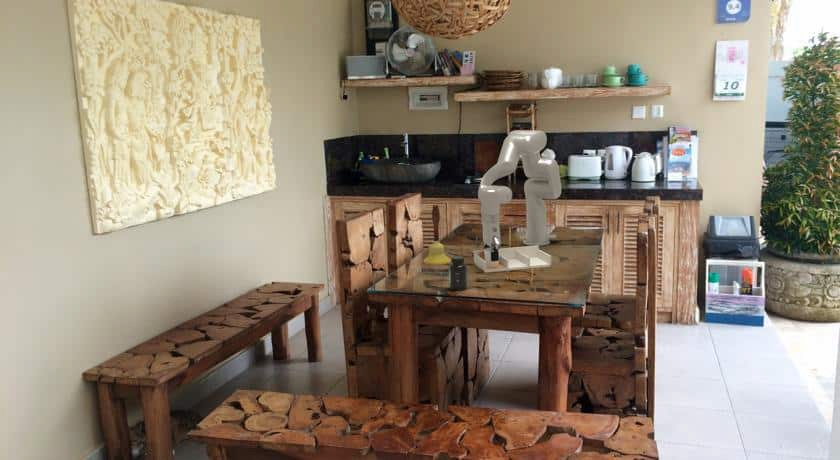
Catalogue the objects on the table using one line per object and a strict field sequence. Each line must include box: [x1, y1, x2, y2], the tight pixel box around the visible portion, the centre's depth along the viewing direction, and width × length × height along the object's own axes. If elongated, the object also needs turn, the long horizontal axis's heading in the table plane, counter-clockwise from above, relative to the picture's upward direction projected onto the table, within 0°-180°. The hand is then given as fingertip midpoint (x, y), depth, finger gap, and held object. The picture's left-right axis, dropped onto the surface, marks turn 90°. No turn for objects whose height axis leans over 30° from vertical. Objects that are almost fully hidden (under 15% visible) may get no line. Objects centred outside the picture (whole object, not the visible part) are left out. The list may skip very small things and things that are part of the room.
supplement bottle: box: [448, 255, 468, 291], centre depth 270 cm, size 7×7×12 cm
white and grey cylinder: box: [483, 246, 501, 267], centre depth 299 cm, size 7×7×7 cm
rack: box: [473, 245, 552, 274], centre depth 302 cm, size 29×15×6 cm, turn 103°
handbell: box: [423, 204, 452, 265], centre depth 313 cm, size 12×12×25 cm
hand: (491, 258), depth 300 cm, fingers open, 9 cm apart
